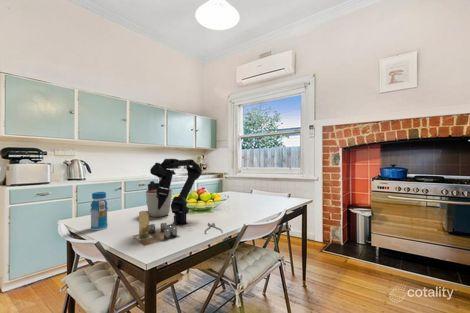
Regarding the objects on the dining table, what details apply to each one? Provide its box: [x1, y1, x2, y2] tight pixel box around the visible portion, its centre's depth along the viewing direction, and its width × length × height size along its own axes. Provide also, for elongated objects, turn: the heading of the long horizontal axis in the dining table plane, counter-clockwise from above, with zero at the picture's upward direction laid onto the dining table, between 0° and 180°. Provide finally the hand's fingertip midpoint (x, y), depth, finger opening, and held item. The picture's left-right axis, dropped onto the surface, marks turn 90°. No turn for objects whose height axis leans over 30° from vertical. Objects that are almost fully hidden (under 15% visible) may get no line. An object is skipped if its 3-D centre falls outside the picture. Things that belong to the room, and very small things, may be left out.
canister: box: [144, 188, 173, 218], centre depth 159 cm, size 18×18×21 cm
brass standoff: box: [138, 210, 150, 238], centre depth 112 cm, size 4×4×12 cm
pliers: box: [204, 222, 224, 235], centre depth 129 cm, size 10×1×20 cm
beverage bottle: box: [89, 191, 109, 231], centre depth 130 cm, size 8×8×20 cm
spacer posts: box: [149, 222, 178, 241], centre depth 116 cm, size 9×16×4 cm, turn 40°
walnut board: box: [132, 229, 181, 247], centre depth 113 cm, size 18×17×1 cm
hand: (158, 208), depth 123 cm, fingers open, 9 cm apart
